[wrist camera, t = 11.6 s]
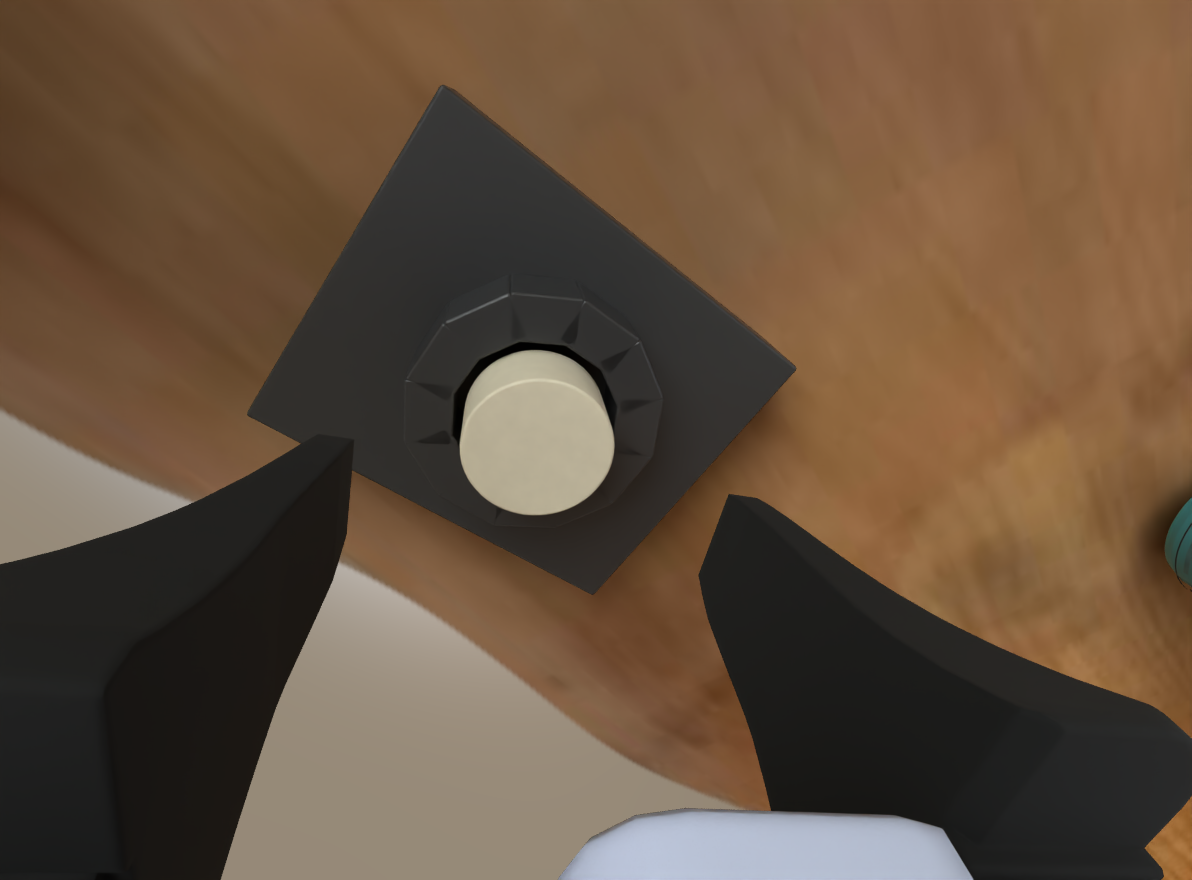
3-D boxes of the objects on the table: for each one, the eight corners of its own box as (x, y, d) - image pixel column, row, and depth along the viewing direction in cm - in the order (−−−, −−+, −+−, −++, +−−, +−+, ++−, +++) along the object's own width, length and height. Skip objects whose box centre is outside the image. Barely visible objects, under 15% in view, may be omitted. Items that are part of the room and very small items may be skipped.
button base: (279, 375, 20) (215, 449, 16) (451, 87, 17) (432, 78, 13) (583, 544, 24) (601, 639, 20) (762, 337, 22) (828, 395, 17)
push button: (437, 431, 17) (429, 470, 15) (516, 321, 16) (518, 348, 14) (550, 496, 18) (555, 539, 16) (631, 398, 17) (645, 433, 15)
